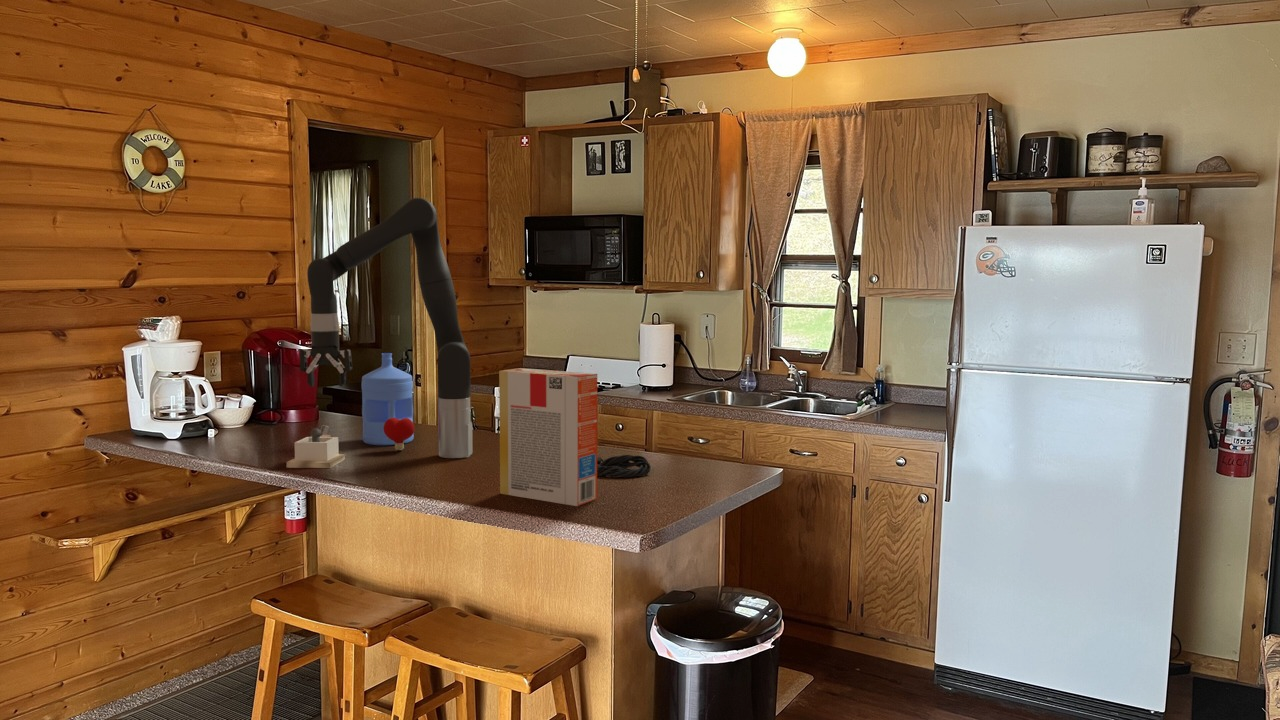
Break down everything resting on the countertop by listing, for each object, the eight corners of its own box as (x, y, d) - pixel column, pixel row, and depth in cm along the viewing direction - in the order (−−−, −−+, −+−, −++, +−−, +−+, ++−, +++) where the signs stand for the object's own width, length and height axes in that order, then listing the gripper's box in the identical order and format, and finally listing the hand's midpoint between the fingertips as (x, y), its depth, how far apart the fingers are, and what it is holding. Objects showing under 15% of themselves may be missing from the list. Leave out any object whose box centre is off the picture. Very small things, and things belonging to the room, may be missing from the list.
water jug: (359, 439, 297) (357, 352, 295) (408, 435, 304) (407, 350, 301) (366, 447, 283) (364, 356, 281) (418, 443, 290) (417, 354, 287)
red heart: (418, 449, 280) (417, 416, 279) (410, 453, 273) (409, 420, 273) (388, 448, 281) (388, 416, 280) (380, 453, 274) (379, 419, 273)
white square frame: (342, 452, 267) (342, 435, 267) (327, 460, 255) (327, 442, 254) (311, 451, 268) (311, 434, 267) (294, 460, 255) (294, 442, 255)
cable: (658, 472, 252) (658, 456, 252) (638, 482, 240) (638, 465, 239) (601, 466, 259) (601, 451, 259) (579, 476, 246) (579, 460, 246)
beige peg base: (345, 459, 265) (344, 425, 264) (330, 468, 253) (329, 432, 252) (303, 458, 265) (302, 424, 264) (286, 467, 253) (285, 431, 252)
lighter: (310, 455, 270) (309, 428, 270) (306, 454, 271) (305, 427, 270) (329, 451, 276) (329, 424, 276) (325, 450, 277) (325, 424, 277)
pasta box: (597, 499, 220) (597, 373, 217) (577, 506, 213) (577, 376, 211) (520, 487, 232) (520, 368, 229) (500, 493, 225) (499, 370, 222)
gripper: (354, 328, 266) (355, 384, 268) (304, 328, 266) (306, 384, 268) (345, 330, 259) (347, 387, 260) (294, 330, 259) (297, 387, 261)
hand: (326, 386), depth 264 cm, fingers open, 8 cm apart
